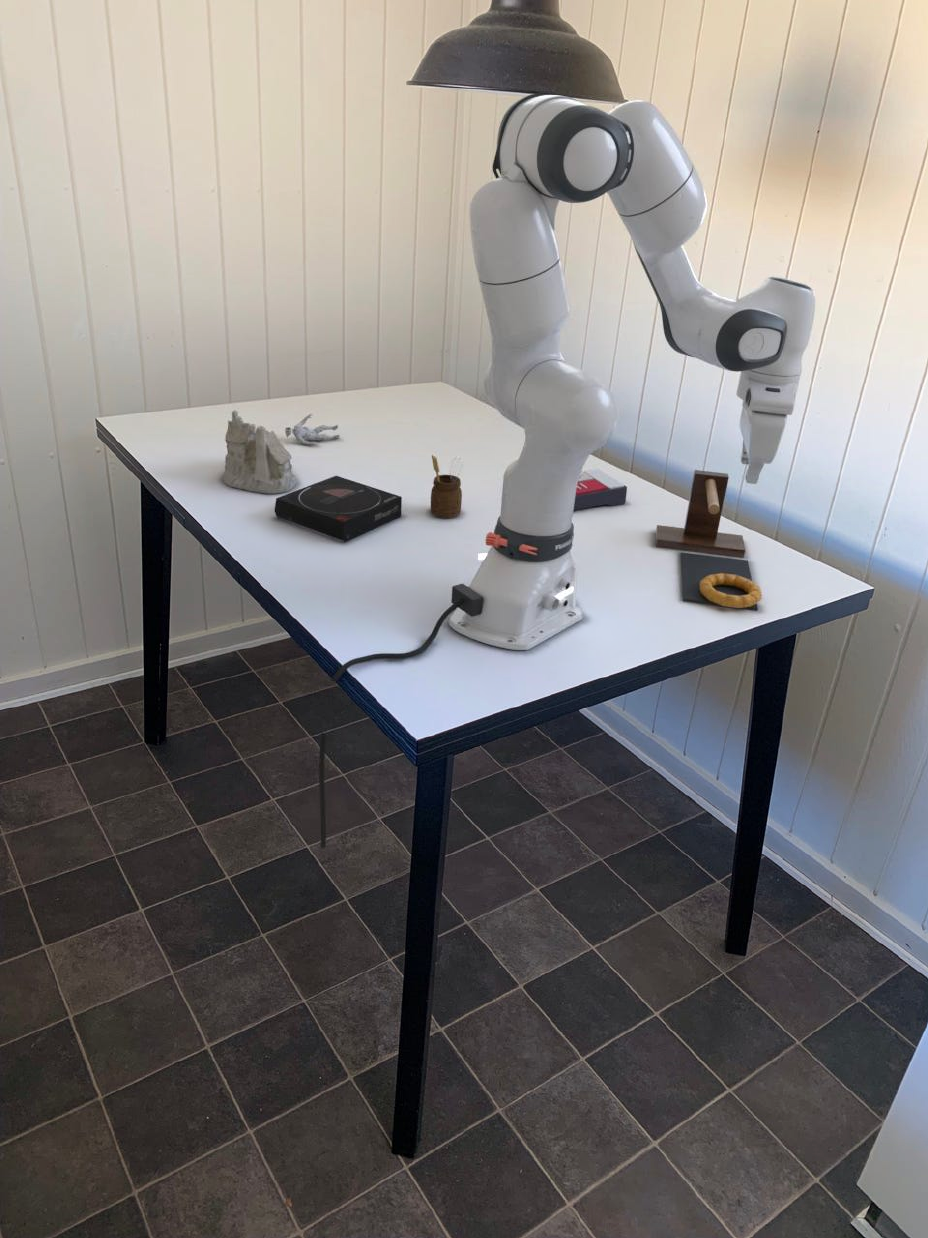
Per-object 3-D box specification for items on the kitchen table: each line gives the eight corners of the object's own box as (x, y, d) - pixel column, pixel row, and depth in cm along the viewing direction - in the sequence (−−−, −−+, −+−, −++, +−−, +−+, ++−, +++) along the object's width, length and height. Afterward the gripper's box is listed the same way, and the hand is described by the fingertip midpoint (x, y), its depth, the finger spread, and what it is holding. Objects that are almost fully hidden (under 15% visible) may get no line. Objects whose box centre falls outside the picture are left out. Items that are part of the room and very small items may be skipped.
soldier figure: (342, 448, 217) (296, 438, 210) (331, 457, 221) (285, 448, 213) (337, 417, 220) (291, 407, 212) (326, 427, 223) (281, 417, 215)
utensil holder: (466, 516, 184) (470, 456, 178) (438, 521, 181) (441, 460, 175) (450, 505, 188) (454, 446, 183) (423, 510, 185) (425, 451, 179)
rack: (655, 532, 183) (667, 464, 176) (741, 542, 181) (755, 474, 174) (655, 567, 169) (667, 495, 162) (748, 578, 167) (764, 506, 160)
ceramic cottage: (272, 497, 186) (270, 420, 180) (207, 482, 193) (202, 408, 186) (319, 479, 199) (318, 407, 192) (256, 465, 205) (254, 395, 199)
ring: (759, 575, 162) (765, 602, 154) (756, 586, 163) (762, 613, 155) (699, 568, 164) (702, 594, 155) (697, 578, 164) (700, 605, 156)
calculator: (536, 476, 195) (599, 465, 201) (535, 495, 197) (597, 484, 203) (564, 495, 187) (628, 483, 192) (562, 515, 189) (626, 503, 194)
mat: (757, 610, 156) (757, 608, 156) (683, 600, 158) (683, 598, 157) (747, 562, 173) (748, 560, 172) (680, 554, 174) (680, 552, 174)
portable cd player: (333, 493, 190) (333, 474, 188) (401, 516, 182) (401, 496, 180) (274, 517, 178) (273, 497, 176) (343, 542, 170) (343, 522, 168)
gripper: (741, 369, 158) (724, 450, 164) (752, 402, 140) (732, 491, 146) (780, 374, 157) (761, 455, 163) (796, 407, 139) (774, 496, 146)
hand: (748, 472), depth 155 cm, fingers open, 8 cm apart
